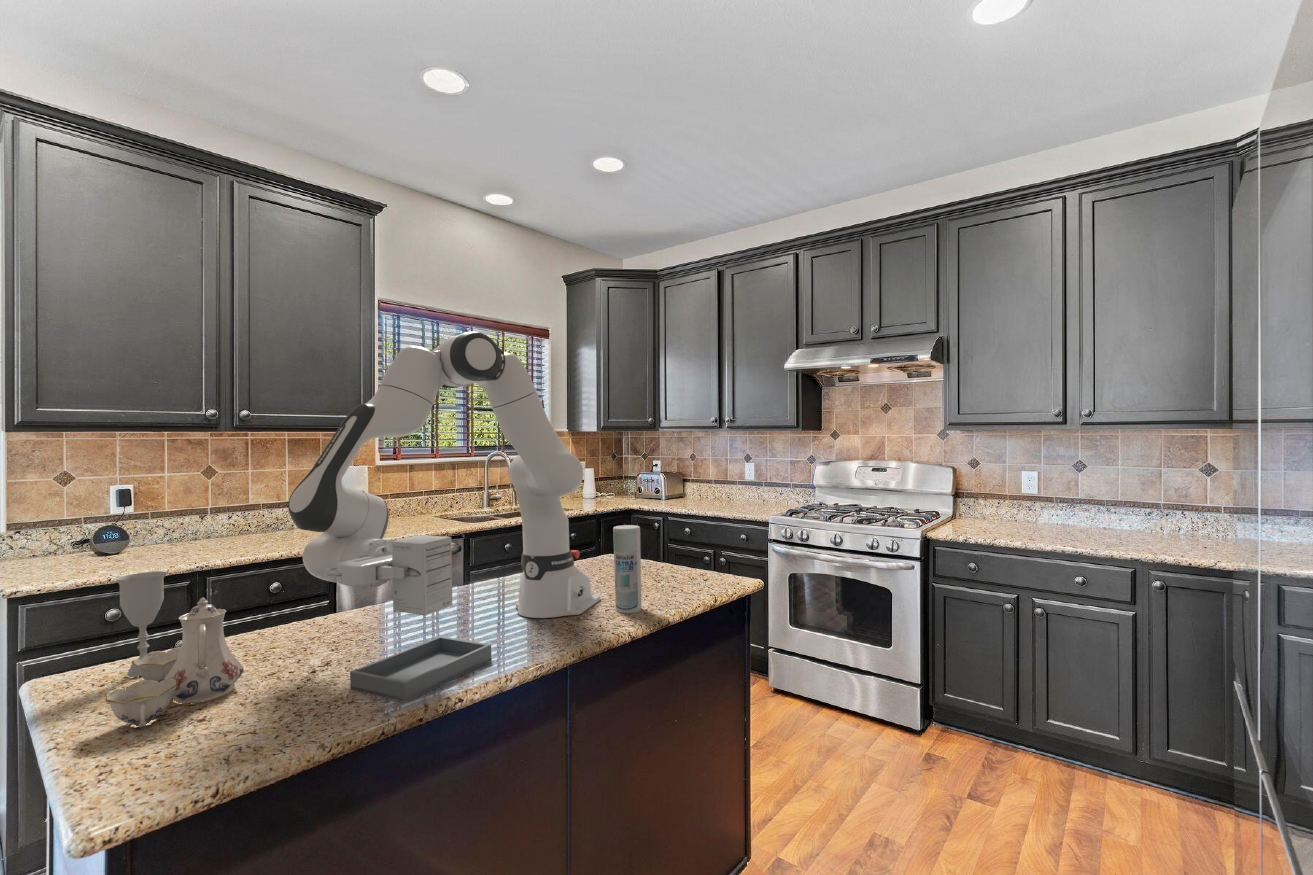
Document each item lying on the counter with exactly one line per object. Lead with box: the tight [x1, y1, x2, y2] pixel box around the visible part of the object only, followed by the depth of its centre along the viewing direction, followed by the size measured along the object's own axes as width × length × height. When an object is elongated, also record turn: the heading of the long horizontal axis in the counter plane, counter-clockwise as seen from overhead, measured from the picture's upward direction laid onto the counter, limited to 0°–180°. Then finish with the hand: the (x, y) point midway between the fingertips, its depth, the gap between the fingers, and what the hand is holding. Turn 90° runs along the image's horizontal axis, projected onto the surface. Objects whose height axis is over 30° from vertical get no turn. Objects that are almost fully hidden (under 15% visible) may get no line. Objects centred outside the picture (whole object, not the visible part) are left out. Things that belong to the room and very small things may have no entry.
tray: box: [349, 636, 493, 703], centre depth 109 cm, size 20×13×3 cm, turn 154°
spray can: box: [612, 524, 642, 614], centre depth 148 cm, size 6×6×20 cm
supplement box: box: [392, 534, 453, 616], centre depth 109 cm, size 7×7×13 cm
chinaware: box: [104, 597, 244, 728], centre depth 101 cm, size 28×17×17 cm, turn 35°
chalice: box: [115, 571, 168, 677], centre depth 113 cm, size 7×7×18 cm
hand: (425, 567), depth 109 cm, fingers closed on supplement box, 7 cm apart
